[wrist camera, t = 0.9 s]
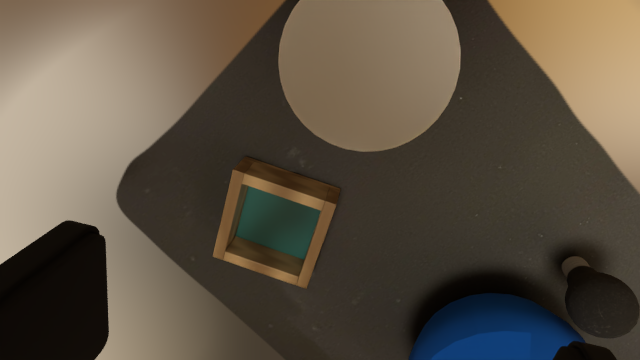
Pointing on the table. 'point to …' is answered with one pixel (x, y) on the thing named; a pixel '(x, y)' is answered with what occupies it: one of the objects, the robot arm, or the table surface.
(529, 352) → the vase
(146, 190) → the table surface
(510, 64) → the table surface
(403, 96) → the cylindrical container
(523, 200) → the table surface
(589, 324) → the light bulb
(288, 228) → the square wooden tray
